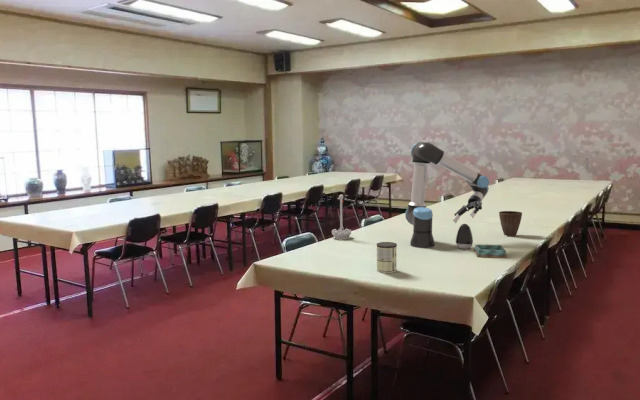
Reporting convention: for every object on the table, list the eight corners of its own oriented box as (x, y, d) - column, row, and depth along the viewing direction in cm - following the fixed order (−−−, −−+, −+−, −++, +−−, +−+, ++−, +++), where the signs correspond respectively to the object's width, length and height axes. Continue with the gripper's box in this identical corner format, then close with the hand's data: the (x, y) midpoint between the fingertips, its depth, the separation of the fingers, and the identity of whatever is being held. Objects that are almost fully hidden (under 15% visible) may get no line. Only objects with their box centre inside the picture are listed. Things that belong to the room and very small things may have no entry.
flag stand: (348, 240, 355) (347, 195, 351) (329, 239, 359) (329, 195, 356) (353, 236, 367) (353, 193, 364) (335, 235, 372) (334, 193, 368)
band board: (477, 256, 304) (477, 250, 303) (474, 250, 319) (474, 244, 319) (506, 257, 301) (507, 250, 301) (501, 251, 317) (502, 244, 316)
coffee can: (375, 268, 280) (375, 242, 279) (394, 268, 281) (394, 241, 279) (378, 273, 270) (378, 246, 269) (398, 273, 271) (398, 245, 269)
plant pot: (497, 236, 363) (497, 213, 361) (499, 232, 376) (500, 210, 374) (520, 238, 357) (521, 214, 355) (522, 234, 370) (523, 211, 368)
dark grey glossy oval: (461, 250, 321) (461, 225, 319) (452, 247, 331) (453, 222, 329) (476, 249, 323) (476, 224, 322) (467, 246, 333) (467, 222, 331)
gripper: (494, 198, 337) (482, 218, 324) (463, 209, 356) (450, 228, 343) (488, 189, 336) (475, 208, 322) (457, 200, 355) (444, 219, 341)
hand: (463, 218), depth 332 cm, fingers open, 13 cm apart
